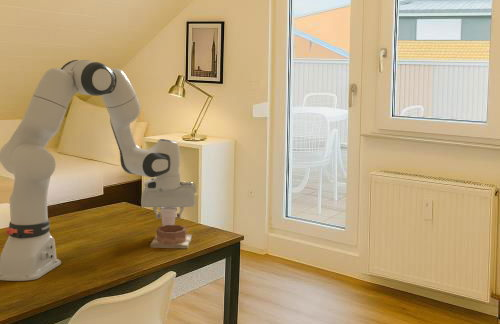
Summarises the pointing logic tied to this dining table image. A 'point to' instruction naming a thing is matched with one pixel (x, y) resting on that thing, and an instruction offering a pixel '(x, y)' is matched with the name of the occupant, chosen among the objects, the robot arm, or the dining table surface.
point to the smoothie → (168, 215)
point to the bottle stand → (171, 237)
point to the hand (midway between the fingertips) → (168, 218)
